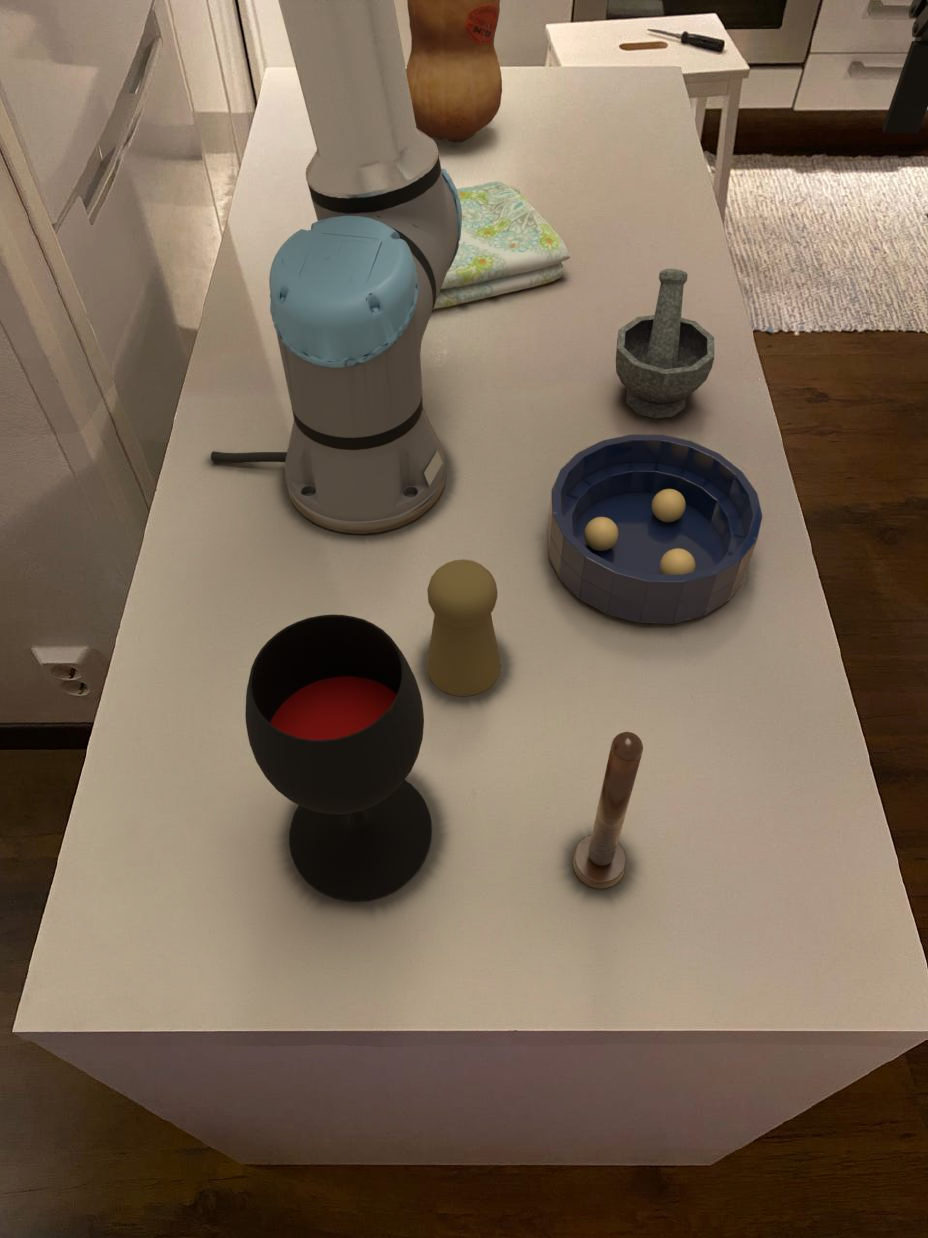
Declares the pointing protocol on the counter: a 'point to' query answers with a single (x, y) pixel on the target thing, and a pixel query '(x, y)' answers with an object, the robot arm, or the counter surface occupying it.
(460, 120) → the butternut squash
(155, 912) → the counter surface
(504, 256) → the towel
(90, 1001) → the counter surface
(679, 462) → the bowl
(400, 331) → the robot arm
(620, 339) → the mortar and pestle
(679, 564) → the chickpea
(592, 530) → the chickpea
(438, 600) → the cork
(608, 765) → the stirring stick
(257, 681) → the wine glass
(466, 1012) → the counter surface
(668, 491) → the chickpea
